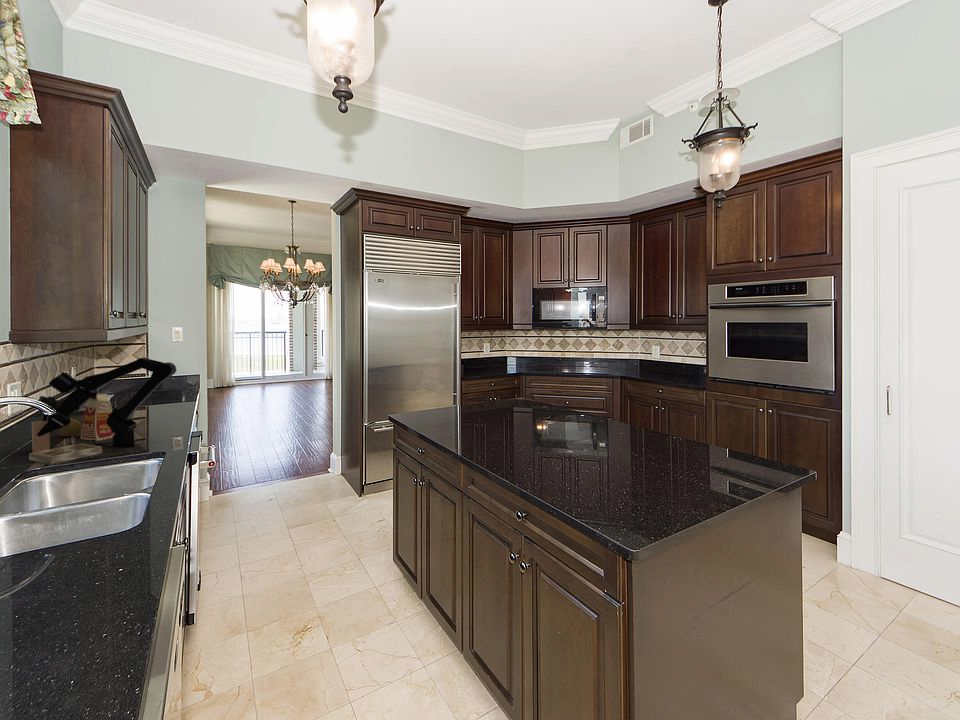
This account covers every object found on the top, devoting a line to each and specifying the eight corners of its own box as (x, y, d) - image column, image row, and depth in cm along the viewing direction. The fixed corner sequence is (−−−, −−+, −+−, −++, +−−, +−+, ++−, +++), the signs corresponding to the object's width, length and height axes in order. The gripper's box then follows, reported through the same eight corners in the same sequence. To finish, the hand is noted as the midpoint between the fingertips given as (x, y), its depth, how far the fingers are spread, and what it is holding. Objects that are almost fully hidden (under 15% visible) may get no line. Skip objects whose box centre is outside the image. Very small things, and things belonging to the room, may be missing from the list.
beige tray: (80, 451, 179) (80, 443, 179) (102, 454, 175) (101, 446, 175) (29, 461, 164) (28, 453, 164) (51, 465, 160) (51, 457, 160)
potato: (83, 436, 202) (82, 418, 202) (59, 439, 197) (59, 420, 197) (82, 434, 207) (81, 416, 207) (59, 436, 202) (58, 418, 202)
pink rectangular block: (49, 451, 178) (48, 420, 177) (49, 452, 176) (49, 421, 176) (32, 453, 175) (31, 421, 174) (33, 454, 173) (32, 422, 172)
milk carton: (97, 440, 196) (96, 393, 195) (79, 439, 198) (78, 392, 197) (117, 436, 205) (117, 391, 204) (100, 434, 207) (99, 390, 205)
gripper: (49, 385, 183) (11, 417, 175) (57, 390, 171) (16, 424, 163) (76, 403, 190) (40, 434, 182) (86, 409, 177) (47, 442, 170)
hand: (35, 433), depth 174 cm, fingers open, 9 cm apart
